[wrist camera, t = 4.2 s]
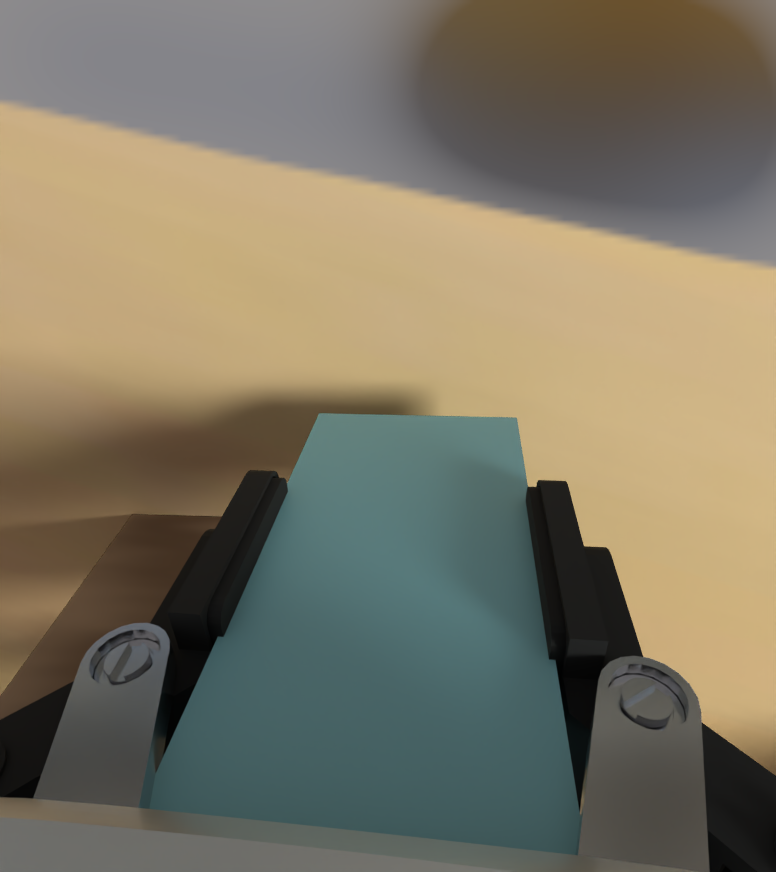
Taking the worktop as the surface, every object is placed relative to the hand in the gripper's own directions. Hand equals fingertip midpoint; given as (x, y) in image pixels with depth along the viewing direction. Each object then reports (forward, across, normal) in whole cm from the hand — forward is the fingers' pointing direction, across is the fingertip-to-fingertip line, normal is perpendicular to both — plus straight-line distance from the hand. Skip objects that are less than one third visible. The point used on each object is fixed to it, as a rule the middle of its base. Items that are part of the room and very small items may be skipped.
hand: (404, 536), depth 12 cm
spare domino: (+4, 0, 0) cm, 4 cm away
